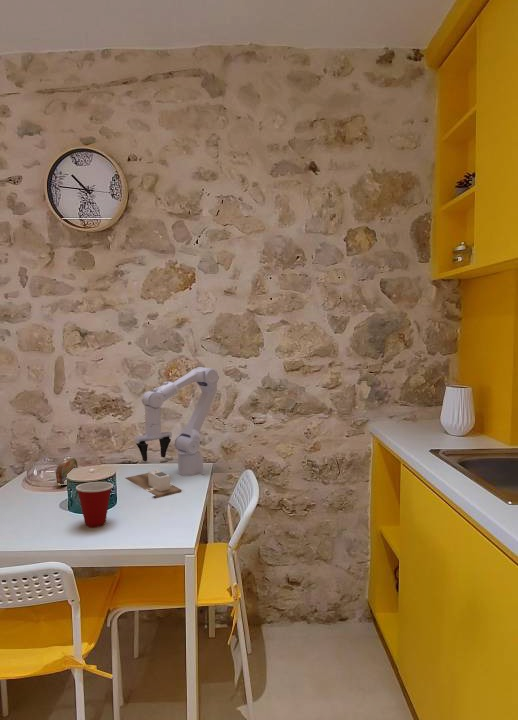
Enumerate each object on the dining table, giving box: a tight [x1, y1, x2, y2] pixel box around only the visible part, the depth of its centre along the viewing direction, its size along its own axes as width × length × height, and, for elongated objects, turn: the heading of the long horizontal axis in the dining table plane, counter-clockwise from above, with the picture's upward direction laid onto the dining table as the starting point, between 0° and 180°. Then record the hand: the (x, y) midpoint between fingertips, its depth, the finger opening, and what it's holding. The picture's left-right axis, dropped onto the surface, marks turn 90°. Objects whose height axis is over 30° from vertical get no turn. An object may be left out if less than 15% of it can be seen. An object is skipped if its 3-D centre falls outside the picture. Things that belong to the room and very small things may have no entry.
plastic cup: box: [75, 481, 114, 528], centre depth 151 cm, size 11×11×12 cm
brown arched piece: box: [55, 458, 79, 484], centre depth 191 cm, size 15×3×8 cm, turn 179°
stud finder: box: [147, 469, 171, 491], centre depth 181 cm, size 4×9×5 cm, turn 39°
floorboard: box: [125, 472, 182, 499], centre depth 186 cm, size 10×26×1 cm, turn 39°
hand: (154, 458), depth 189 cm, fingers open, 7 cm apart
